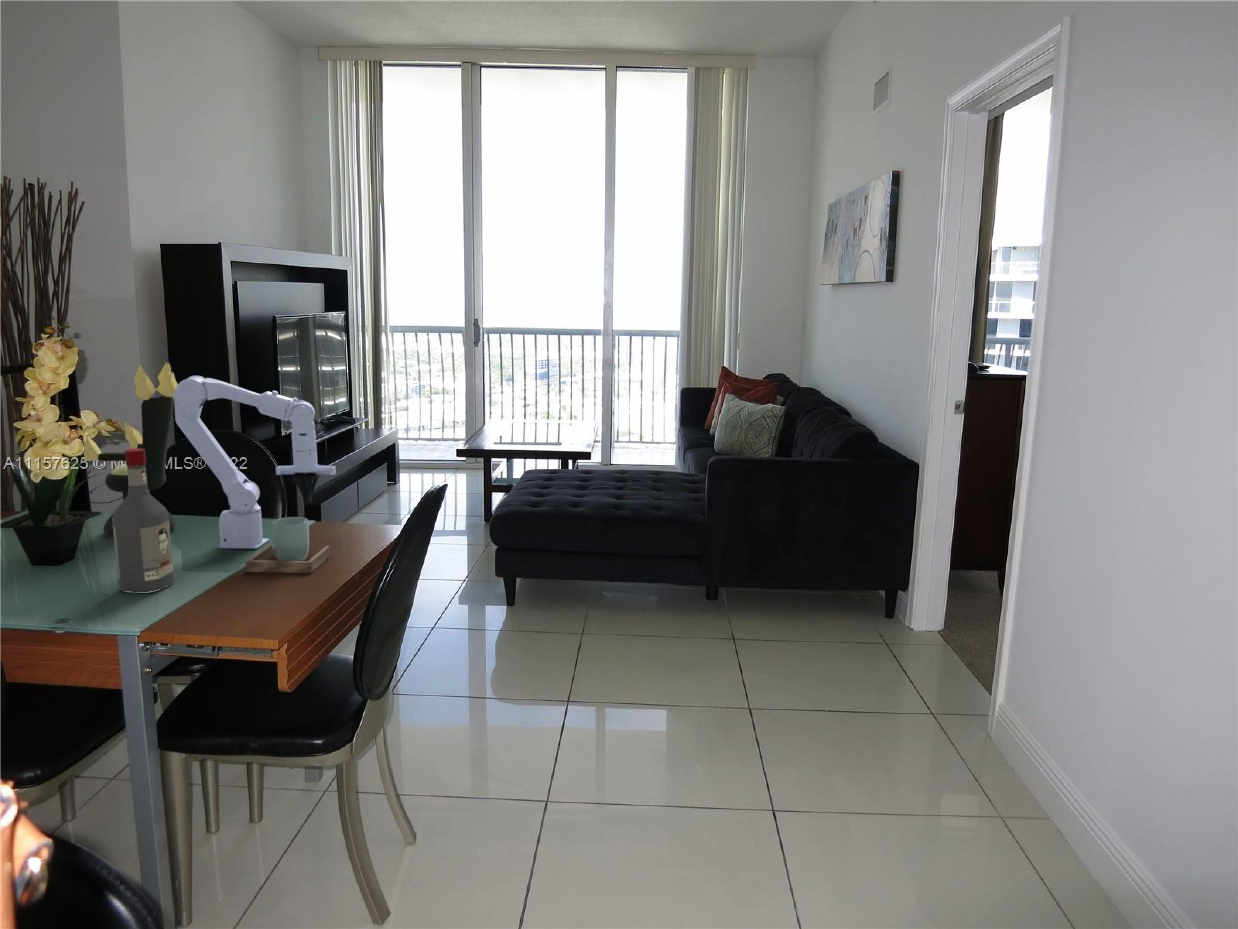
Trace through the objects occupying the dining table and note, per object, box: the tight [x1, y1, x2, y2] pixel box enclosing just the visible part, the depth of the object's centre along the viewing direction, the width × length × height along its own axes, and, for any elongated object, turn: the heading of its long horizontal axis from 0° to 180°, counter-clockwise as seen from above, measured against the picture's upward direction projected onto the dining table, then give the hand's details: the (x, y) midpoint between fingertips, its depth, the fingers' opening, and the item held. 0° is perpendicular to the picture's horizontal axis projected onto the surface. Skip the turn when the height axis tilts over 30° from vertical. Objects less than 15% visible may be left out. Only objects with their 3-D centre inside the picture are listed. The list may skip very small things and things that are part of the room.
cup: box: [272, 516, 310, 561], centre depth 206 cm, size 8×8×10 cm
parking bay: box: [244, 544, 331, 574], centre depth 206 cm, size 15×14×2 cm
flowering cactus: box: [83, 361, 179, 539], centre depth 225 cm, size 19×22×45 cm
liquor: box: [112, 448, 175, 592], centre depth 185 cm, size 9×9×30 cm
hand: (308, 502), depth 222 cm, fingers closed
